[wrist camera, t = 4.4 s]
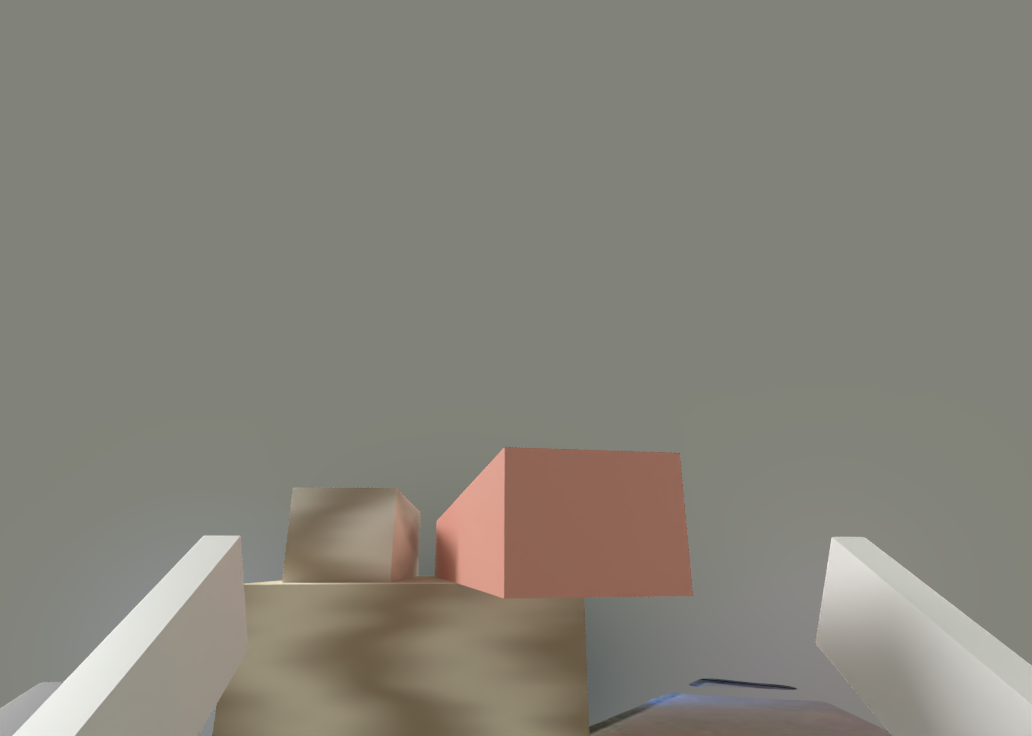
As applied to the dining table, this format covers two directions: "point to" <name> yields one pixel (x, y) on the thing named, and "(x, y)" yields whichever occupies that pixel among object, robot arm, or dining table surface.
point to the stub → (569, 526)
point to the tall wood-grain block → (396, 639)
